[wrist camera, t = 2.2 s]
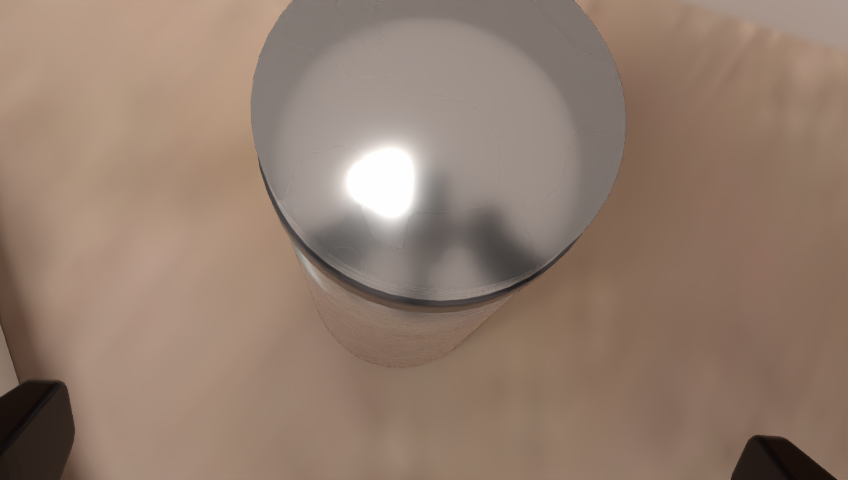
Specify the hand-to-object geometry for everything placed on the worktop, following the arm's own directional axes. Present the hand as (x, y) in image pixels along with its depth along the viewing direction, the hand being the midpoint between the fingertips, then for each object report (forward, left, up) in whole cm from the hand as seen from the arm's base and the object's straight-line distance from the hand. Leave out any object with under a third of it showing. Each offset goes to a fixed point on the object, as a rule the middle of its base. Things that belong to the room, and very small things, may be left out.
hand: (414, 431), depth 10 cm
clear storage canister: (+3, -2, -11) cm, 12 cm away
